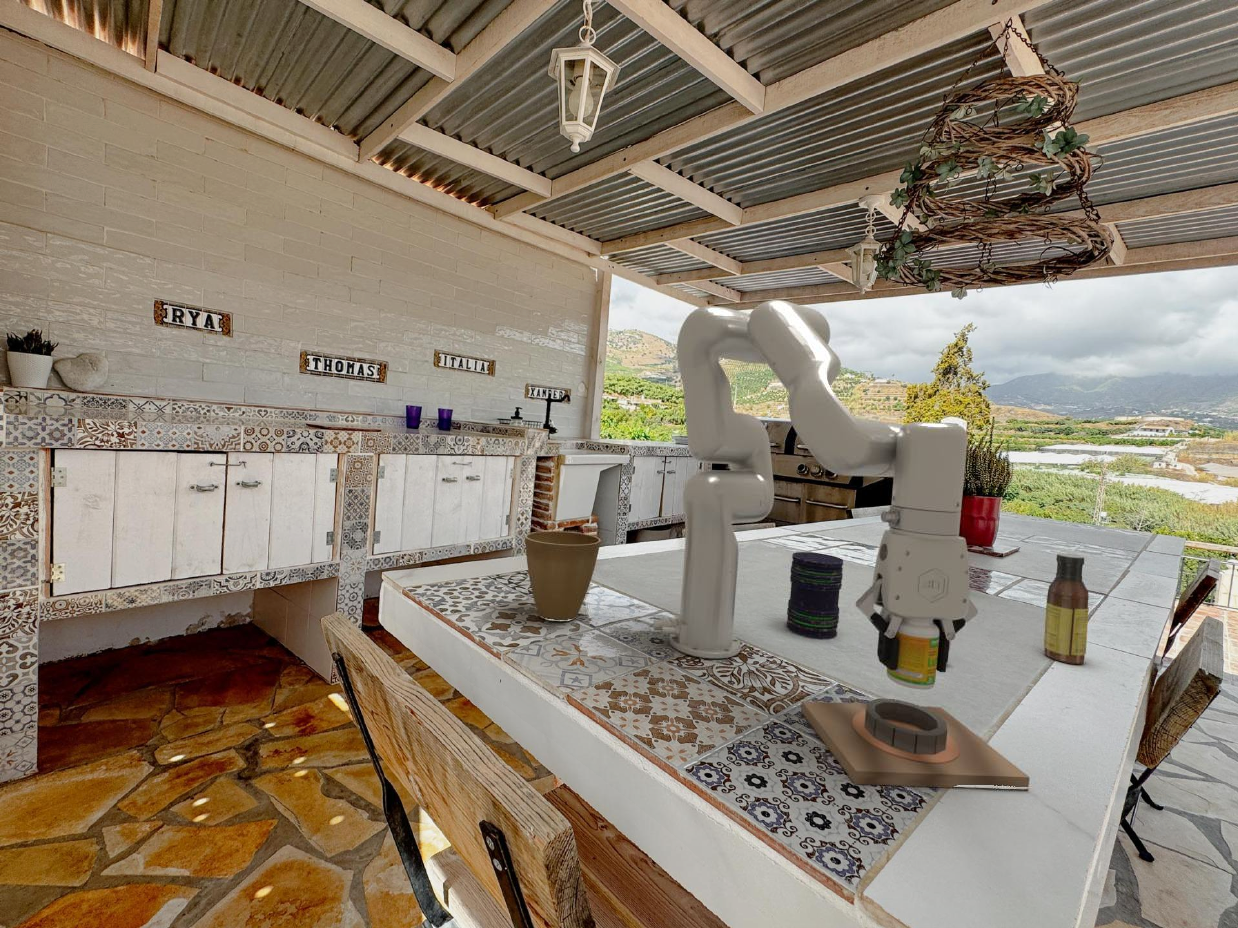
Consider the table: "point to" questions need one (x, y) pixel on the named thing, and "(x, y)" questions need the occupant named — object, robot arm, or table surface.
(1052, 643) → the sauce bottle
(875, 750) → the socket board
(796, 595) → the storage jar
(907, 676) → the supplement bottle
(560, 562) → the plant pot
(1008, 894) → the table surface
